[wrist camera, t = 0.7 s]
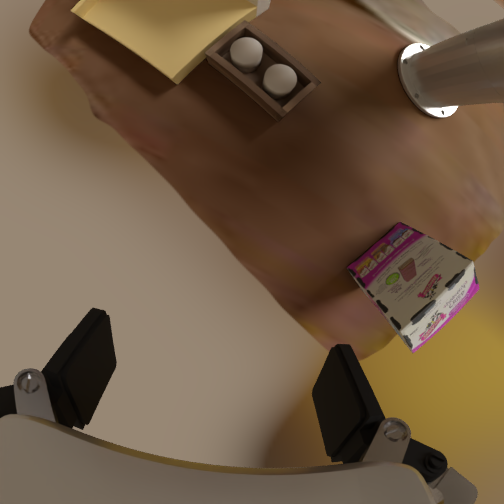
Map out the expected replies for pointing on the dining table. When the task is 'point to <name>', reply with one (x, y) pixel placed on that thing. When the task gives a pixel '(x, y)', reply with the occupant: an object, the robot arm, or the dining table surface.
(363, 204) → the dining table surface
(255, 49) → the caddy
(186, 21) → the counter shelf
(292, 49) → the dining table surface
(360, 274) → the candy bar box
